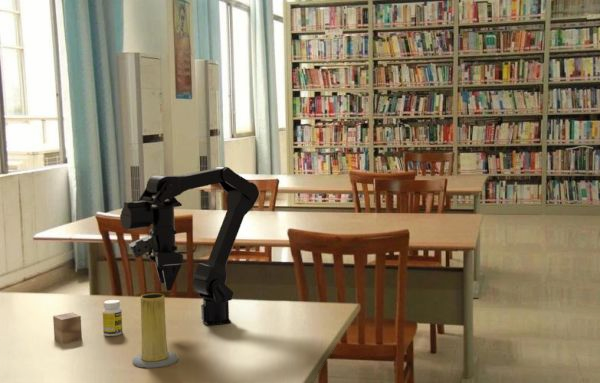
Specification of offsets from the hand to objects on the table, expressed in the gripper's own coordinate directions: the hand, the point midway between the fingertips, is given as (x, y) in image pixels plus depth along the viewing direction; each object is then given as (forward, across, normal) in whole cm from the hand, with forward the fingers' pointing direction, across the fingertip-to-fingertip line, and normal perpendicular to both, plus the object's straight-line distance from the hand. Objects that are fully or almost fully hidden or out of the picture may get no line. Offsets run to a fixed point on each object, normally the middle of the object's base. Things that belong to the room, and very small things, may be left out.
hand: (165, 286), depth 189 cm
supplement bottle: (+12, -5, -13) cm, 19 cm away
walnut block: (+12, -5, -24) cm, 27 cm away
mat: (+12, +21, -6) cm, 25 cm away
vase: (+12, +21, -6) cm, 25 cm away
